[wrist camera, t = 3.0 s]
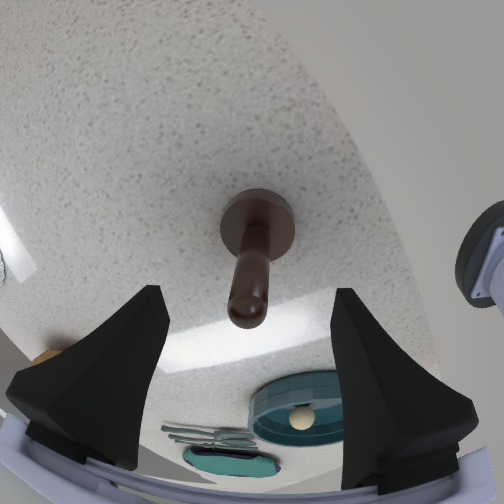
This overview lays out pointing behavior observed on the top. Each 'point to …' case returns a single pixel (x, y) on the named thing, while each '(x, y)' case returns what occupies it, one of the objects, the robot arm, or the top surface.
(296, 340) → the top surface
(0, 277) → the mooncake
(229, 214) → the wooden pestle
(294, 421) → the dough ball
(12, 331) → the top surface
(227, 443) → the cutlery set
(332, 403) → the bowl
